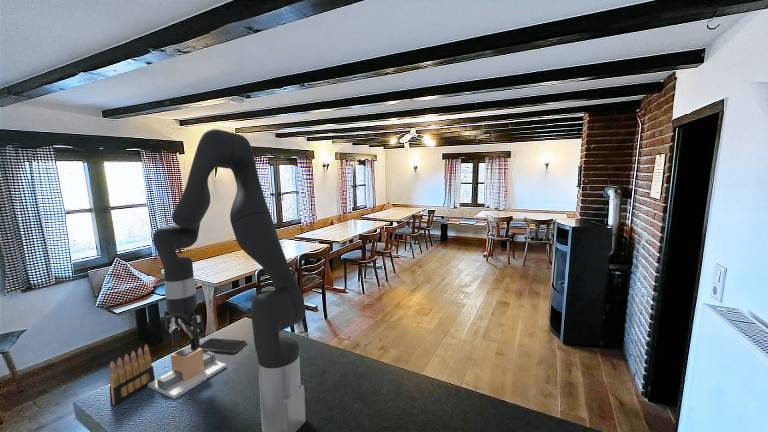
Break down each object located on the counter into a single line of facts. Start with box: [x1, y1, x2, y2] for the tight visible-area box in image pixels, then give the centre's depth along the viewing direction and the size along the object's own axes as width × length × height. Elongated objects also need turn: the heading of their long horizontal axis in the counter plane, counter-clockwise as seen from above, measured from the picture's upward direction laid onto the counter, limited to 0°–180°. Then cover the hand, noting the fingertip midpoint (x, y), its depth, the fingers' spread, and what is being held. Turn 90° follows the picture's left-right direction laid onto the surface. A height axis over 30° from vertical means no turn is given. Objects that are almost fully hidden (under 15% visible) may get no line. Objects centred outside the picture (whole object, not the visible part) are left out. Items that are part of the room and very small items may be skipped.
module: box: [170, 344, 204, 382], centre depth 95 cm, size 5×6×7 cm
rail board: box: [147, 351, 227, 400], centre depth 96 cm, size 12×16×4 cm
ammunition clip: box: [109, 344, 156, 407], centre depth 88 cm, size 11×2×12 cm, turn 162°
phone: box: [199, 337, 247, 355], centre depth 113 cm, size 8×1×15 cm
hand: (185, 346), depth 94 cm, fingers open, 8 cm apart
